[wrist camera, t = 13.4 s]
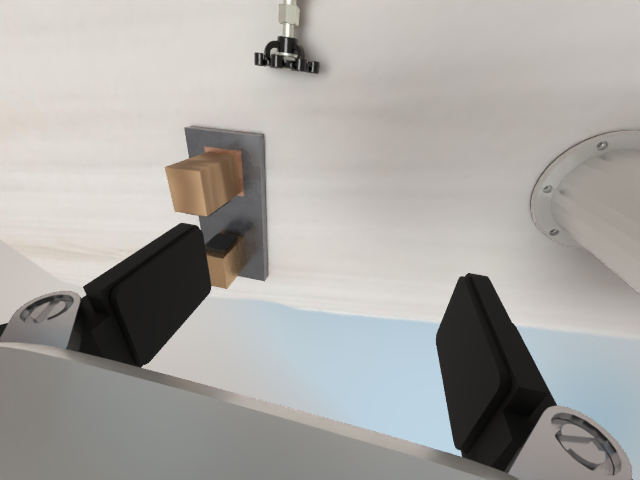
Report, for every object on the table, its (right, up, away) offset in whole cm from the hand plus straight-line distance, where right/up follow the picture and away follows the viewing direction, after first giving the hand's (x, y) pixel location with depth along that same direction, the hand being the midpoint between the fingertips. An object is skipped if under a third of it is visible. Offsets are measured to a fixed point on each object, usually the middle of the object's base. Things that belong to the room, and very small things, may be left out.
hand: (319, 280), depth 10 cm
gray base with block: (-13, +6, +31) cm, 34 cm away
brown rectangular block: (-13, +10, +26) cm, 31 cm away
